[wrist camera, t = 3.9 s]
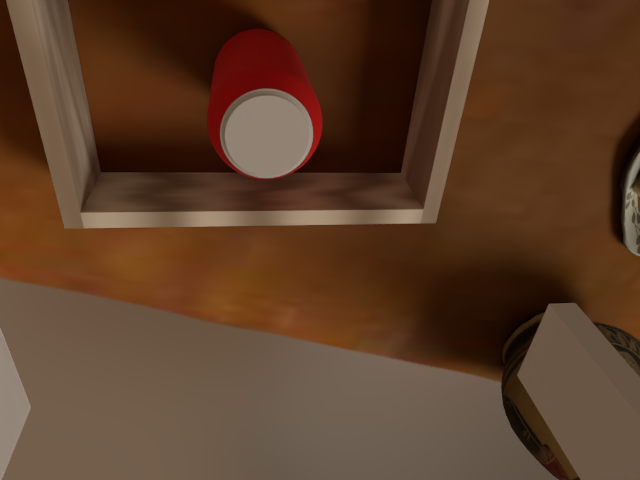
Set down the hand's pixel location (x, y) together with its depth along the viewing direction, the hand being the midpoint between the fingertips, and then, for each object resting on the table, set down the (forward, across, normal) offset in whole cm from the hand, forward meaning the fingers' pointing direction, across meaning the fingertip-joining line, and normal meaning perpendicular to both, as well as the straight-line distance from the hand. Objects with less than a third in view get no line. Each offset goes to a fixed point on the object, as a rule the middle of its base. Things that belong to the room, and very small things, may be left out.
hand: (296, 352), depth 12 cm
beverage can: (+27, 0, 0) cm, 27 cm away
